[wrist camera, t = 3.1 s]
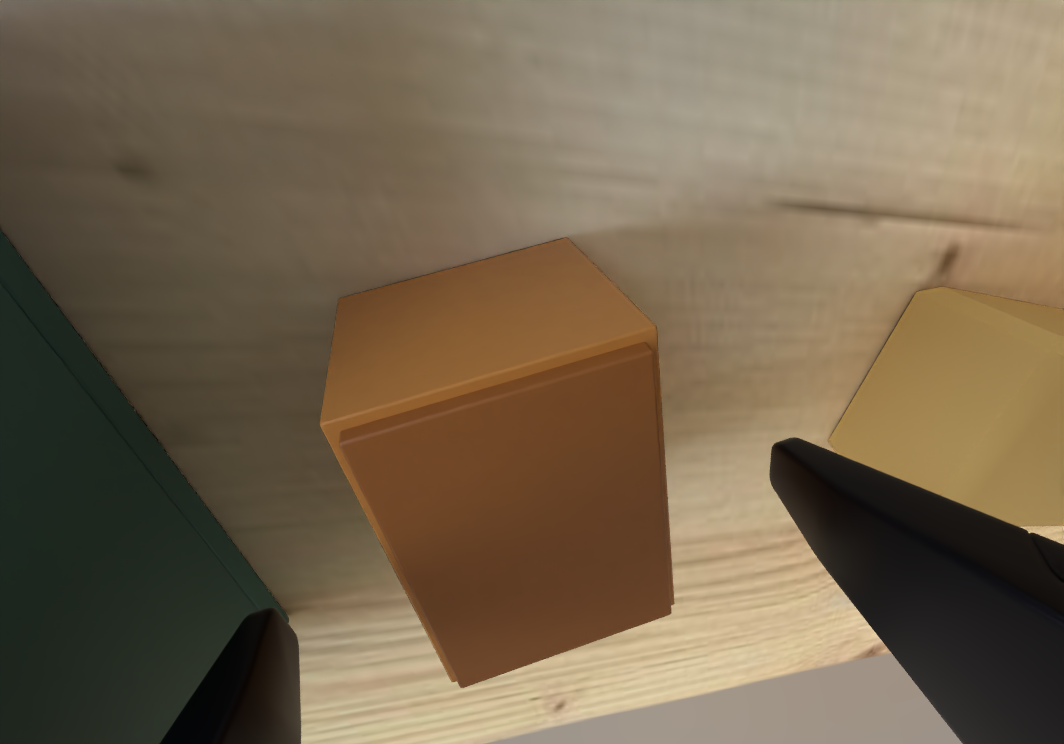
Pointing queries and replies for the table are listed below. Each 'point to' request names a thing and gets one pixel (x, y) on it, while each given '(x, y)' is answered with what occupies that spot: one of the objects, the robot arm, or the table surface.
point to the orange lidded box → (507, 453)
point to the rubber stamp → (968, 405)
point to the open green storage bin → (97, 546)
